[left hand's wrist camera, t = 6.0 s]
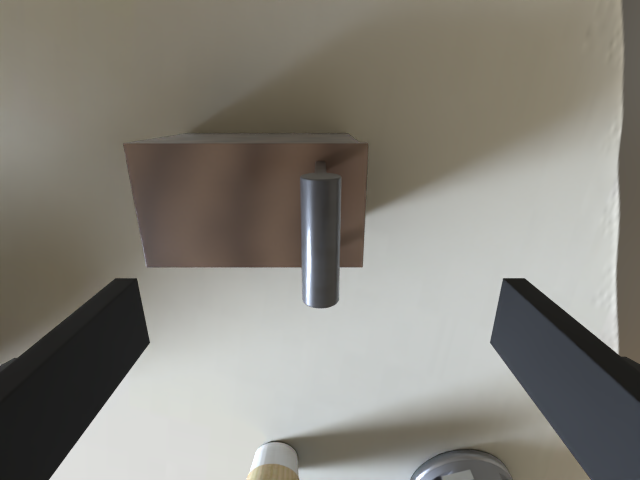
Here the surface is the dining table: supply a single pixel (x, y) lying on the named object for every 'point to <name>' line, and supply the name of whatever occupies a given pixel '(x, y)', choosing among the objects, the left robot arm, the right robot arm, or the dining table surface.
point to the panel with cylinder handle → (253, 207)
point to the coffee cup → (274, 463)
